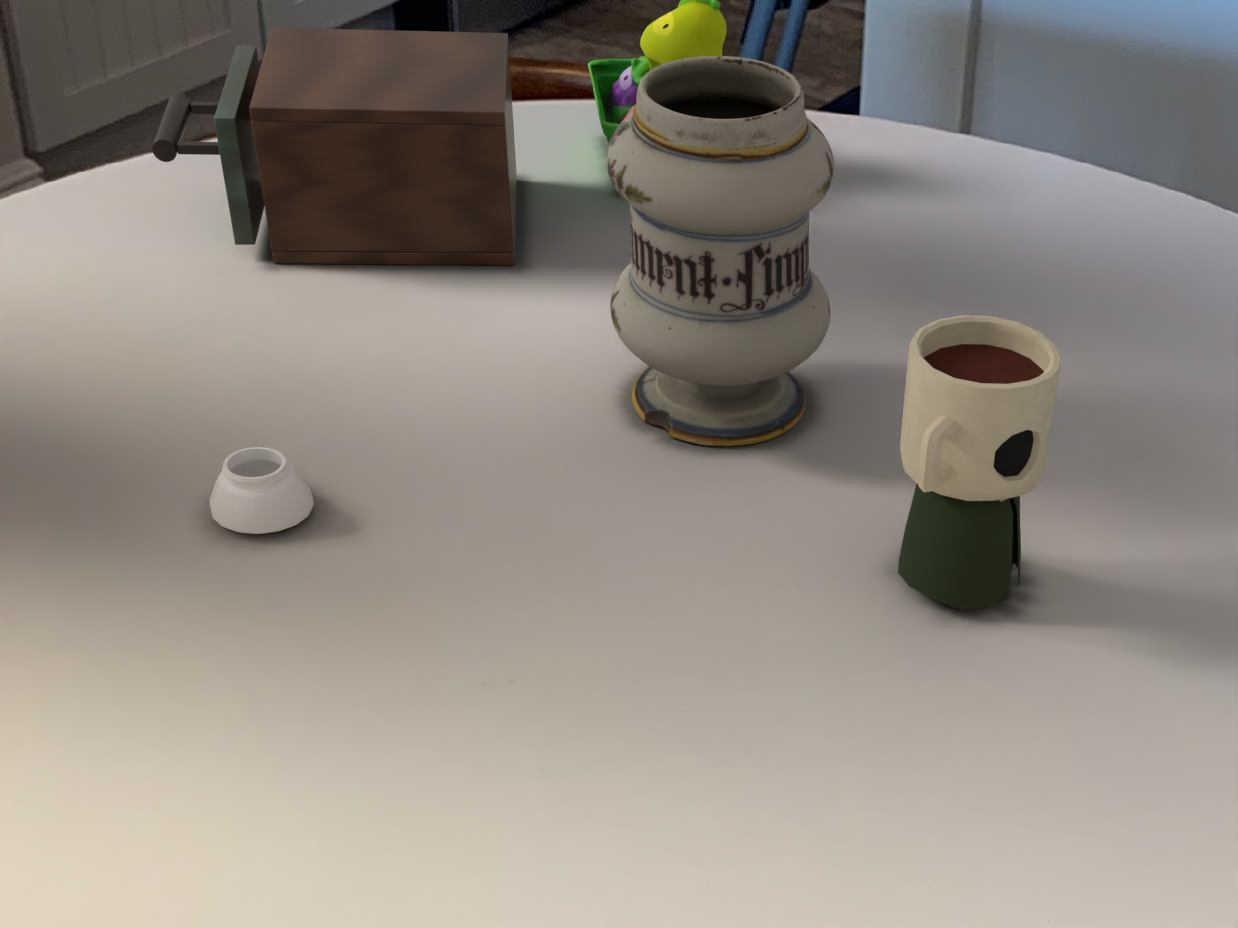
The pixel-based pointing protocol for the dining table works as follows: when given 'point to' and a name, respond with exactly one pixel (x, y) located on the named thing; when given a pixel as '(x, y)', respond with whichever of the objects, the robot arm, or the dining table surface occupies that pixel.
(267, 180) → the cabinet
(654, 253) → the apothecary jar
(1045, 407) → the character mug
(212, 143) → the drawer
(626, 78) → the fruit basket
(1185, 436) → the dining table surface
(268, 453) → the white jar
